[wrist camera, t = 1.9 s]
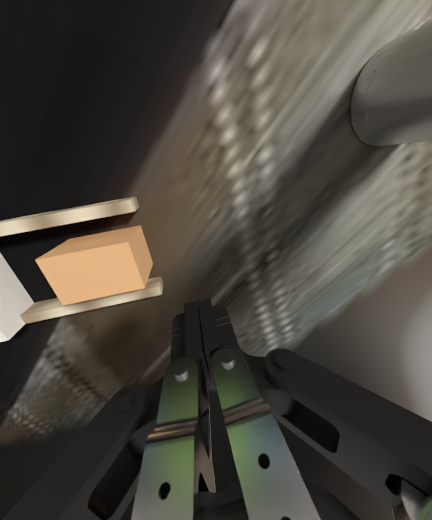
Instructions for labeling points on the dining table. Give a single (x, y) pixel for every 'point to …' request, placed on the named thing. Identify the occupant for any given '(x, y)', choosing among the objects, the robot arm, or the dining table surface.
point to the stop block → (11, 302)
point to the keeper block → (98, 265)
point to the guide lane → (69, 216)
